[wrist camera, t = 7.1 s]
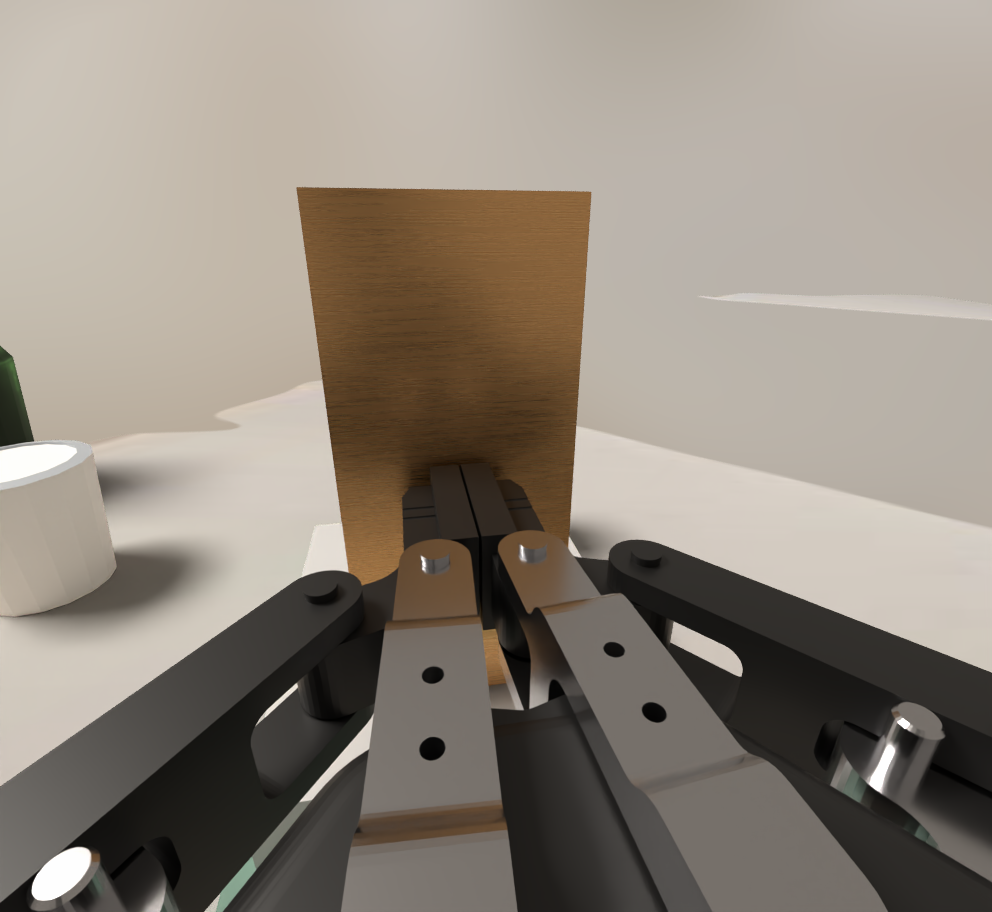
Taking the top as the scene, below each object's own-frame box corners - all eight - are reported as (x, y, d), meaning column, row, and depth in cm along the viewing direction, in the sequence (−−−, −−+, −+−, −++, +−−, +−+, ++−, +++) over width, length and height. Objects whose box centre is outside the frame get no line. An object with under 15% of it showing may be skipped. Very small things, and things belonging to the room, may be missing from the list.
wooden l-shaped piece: (559, 674, 16) (591, 191, 11) (366, 703, 15) (296, 187, 10) (491, 495, 28) (490, 213, 22) (377, 505, 27) (347, 212, 21)
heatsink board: (810, 1036, 12) (913, 833, 9) (152, 1230, 10) (0, 1041, 7) (541, 520, 34) (545, 411, 31) (318, 542, 31) (299, 425, 28)
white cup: (-57, 644, 24) (-130, 509, 21) (-9, 566, 29) (-62, 451, 26) (123, 598, 27) (79, 475, 24) (135, 535, 32) (101, 429, 29)
